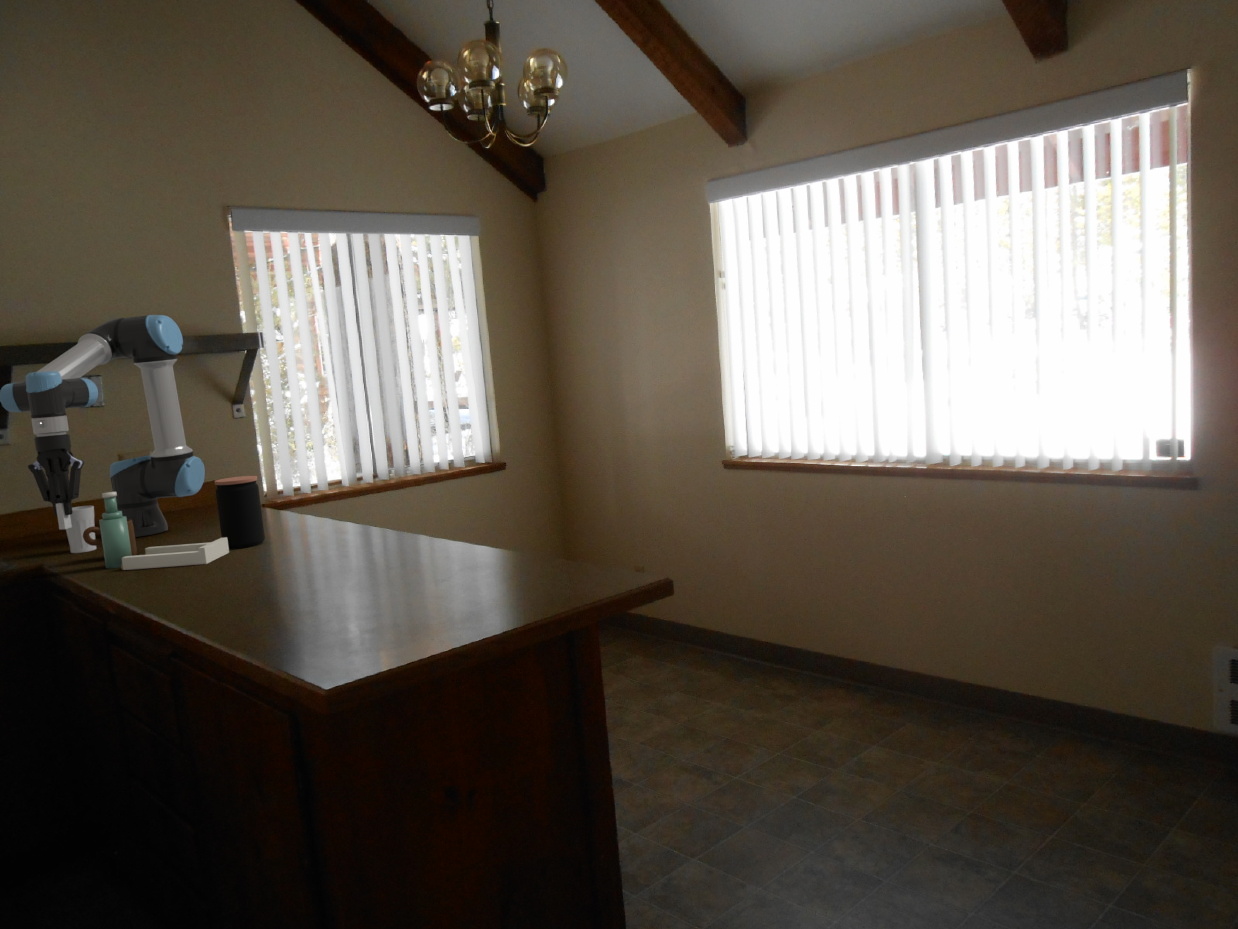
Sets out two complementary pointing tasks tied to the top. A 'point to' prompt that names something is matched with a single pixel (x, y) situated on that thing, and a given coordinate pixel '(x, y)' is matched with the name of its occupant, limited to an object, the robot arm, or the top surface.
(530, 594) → the top surface
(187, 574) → the top surface
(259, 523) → the coffee jar
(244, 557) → the top surface
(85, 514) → the cup
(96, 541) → the mug
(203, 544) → the rest
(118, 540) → the bottle
